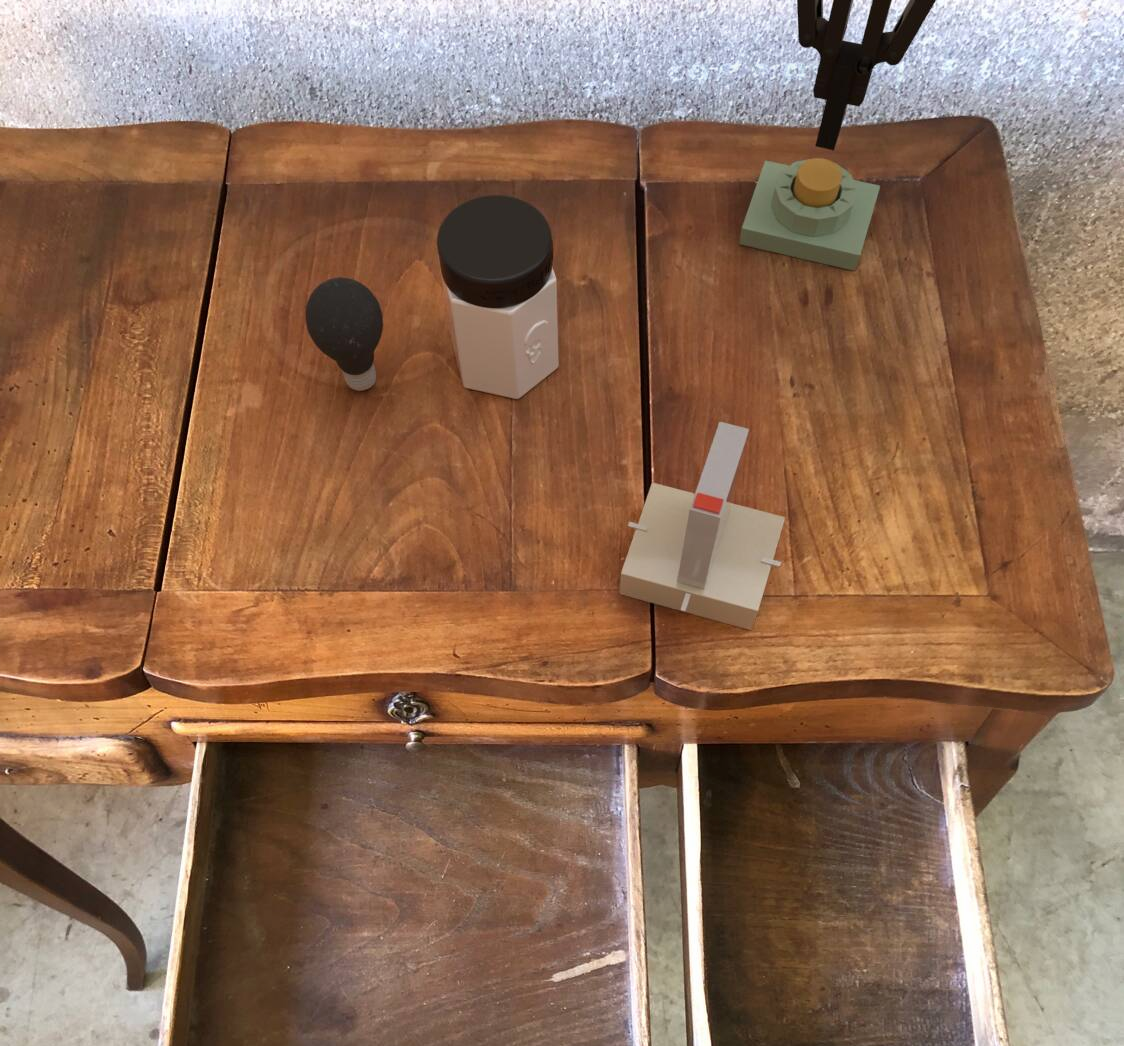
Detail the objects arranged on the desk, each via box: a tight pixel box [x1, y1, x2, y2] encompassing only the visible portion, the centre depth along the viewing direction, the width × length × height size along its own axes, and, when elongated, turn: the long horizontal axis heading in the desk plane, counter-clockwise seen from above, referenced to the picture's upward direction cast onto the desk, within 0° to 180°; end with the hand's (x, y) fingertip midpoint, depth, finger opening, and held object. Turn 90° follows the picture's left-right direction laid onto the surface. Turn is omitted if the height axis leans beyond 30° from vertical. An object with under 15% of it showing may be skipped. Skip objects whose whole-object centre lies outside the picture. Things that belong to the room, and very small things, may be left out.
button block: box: [738, 158, 881, 272], centre depth 87 cm, size 10×8×4 cm
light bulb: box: [304, 276, 384, 391], centre depth 79 cm, size 6×6×10 cm
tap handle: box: [677, 421, 750, 589], centre depth 70 cm, size 7×2×9 cm, turn 162°
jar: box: [436, 194, 560, 400], centre depth 79 cm, size 9×8×12 cm
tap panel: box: [618, 482, 786, 631], centre depth 76 cm, size 11×11×3 cm
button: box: [793, 157, 842, 208], centre depth 85 cm, size 4×4×2 cm
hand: (828, 135), depth 81 cm, fingers closed
